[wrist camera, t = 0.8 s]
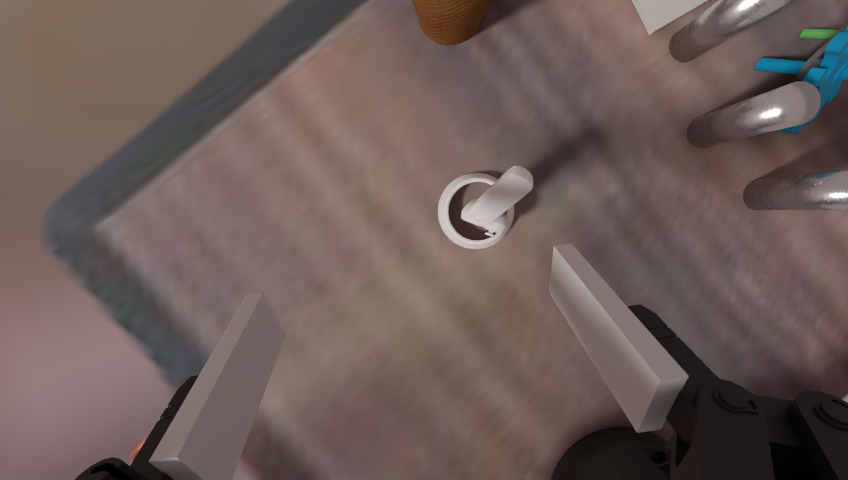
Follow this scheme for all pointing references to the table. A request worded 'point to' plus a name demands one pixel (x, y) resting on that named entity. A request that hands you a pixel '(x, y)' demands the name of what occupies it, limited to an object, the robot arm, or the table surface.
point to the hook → (486, 205)
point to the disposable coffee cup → (450, 19)
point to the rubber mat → (663, 11)
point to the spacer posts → (758, 112)
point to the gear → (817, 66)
